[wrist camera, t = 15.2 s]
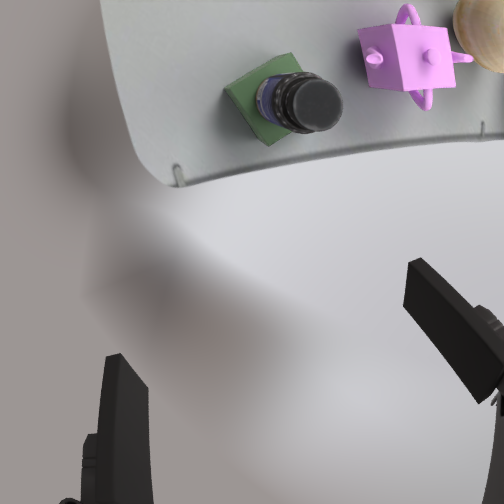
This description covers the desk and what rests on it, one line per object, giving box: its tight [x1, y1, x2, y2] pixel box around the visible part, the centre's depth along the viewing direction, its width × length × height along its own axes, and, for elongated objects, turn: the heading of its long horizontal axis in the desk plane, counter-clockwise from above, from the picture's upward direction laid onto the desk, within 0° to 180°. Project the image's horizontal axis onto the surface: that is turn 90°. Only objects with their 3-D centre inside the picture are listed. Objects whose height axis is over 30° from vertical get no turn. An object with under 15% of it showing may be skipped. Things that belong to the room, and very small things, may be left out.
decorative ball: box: [453, 0, 504, 73], centre depth 28 cm, size 15×15×15 cm
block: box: [224, 53, 303, 147], centre depth 35 cm, size 8×8×5 cm
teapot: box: [357, 4, 474, 111], centre depth 31 cm, size 15×13×11 cm
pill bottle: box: [255, 72, 343, 134], centre depth 28 cm, size 6×6×11 cm
